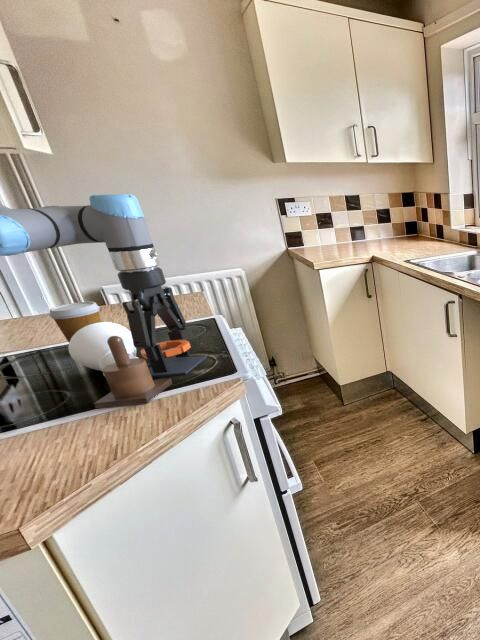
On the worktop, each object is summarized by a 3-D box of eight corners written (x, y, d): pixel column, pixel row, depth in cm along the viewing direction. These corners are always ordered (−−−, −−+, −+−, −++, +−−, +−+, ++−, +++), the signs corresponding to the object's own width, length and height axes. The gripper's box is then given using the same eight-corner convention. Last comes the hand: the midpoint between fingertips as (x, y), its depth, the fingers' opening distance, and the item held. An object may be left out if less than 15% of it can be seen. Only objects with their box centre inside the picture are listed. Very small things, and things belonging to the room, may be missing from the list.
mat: (136, 379, 95) (136, 377, 94) (162, 361, 104) (161, 359, 104) (186, 374, 96) (185, 372, 96) (207, 357, 105) (206, 355, 105)
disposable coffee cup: (68, 348, 114) (49, 306, 110) (115, 339, 120) (98, 299, 115) (64, 358, 107) (43, 313, 103) (113, 349, 113) (96, 306, 108)
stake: (96, 408, 82) (68, 346, 77) (126, 387, 90) (103, 330, 86) (147, 403, 84) (123, 342, 79) (172, 383, 92) (152, 326, 87)
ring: (134, 360, 94) (132, 355, 93) (157, 346, 102) (155, 341, 101) (177, 357, 95) (175, 351, 95) (196, 343, 103) (195, 338, 103)
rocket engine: (126, 340, 88) (94, 312, 96) (82, 387, 84) (53, 354, 93) (178, 363, 97) (146, 336, 106) (141, 406, 94) (110, 375, 102)
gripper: (126, 278, 82) (164, 381, 90) (184, 259, 102) (211, 346, 110) (82, 281, 81) (125, 385, 89) (149, 261, 101) (179, 349, 109)
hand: (172, 363), depth 100 cm, fingers closed on ring, 8 cm apart
